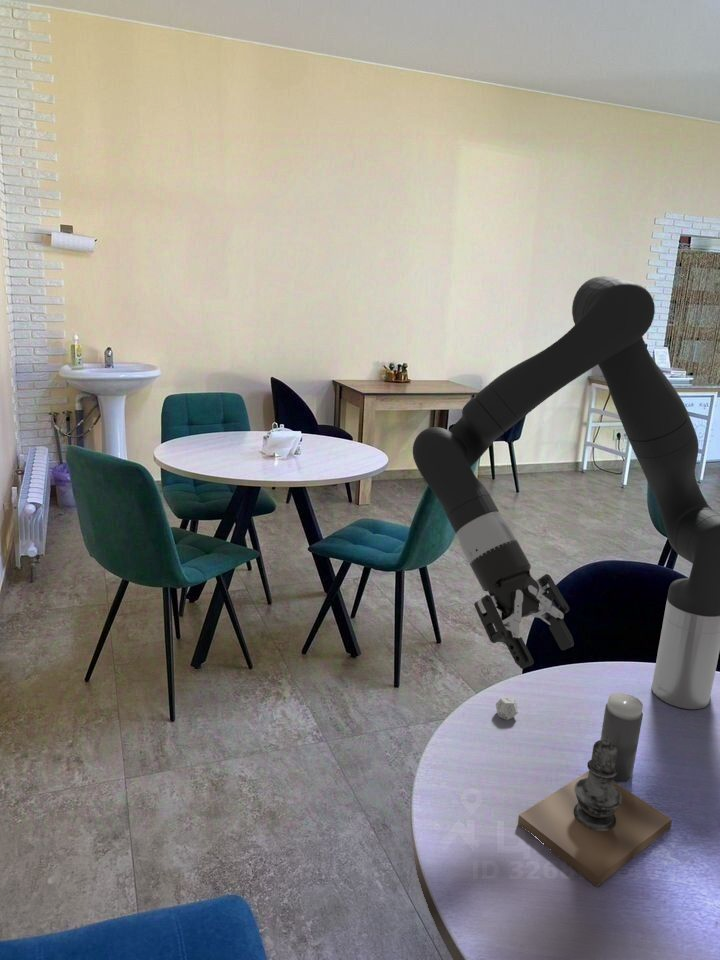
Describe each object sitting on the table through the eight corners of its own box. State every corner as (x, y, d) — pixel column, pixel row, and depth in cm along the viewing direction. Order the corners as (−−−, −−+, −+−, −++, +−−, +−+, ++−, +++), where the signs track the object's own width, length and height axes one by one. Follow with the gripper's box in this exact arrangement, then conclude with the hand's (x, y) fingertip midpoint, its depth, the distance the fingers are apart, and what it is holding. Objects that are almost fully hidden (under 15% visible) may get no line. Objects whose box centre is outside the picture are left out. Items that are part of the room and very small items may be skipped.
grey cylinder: (609, 754, 107) (620, 688, 104) (639, 773, 103) (651, 704, 100) (589, 767, 104) (599, 699, 101) (619, 786, 100) (631, 716, 97)
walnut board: (591, 776, 102) (593, 767, 101) (670, 828, 93) (672, 819, 92) (517, 824, 92) (518, 814, 92) (596, 887, 83) (598, 876, 83)
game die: (507, 725, 113) (509, 709, 112) (490, 714, 116) (491, 698, 115) (522, 717, 115) (524, 701, 114) (504, 706, 118) (506, 691, 117)
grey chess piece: (621, 837, 89) (635, 755, 86) (572, 828, 90) (584, 747, 87) (615, 804, 94) (628, 726, 91) (569, 796, 96) (580, 719, 92)
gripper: (472, 549, 94) (532, 664, 89) (541, 529, 103) (599, 632, 97) (442, 573, 100) (496, 682, 94) (509, 552, 108) (563, 651, 103)
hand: (548, 657), depth 96 cm, fingers open, 8 cm apart
